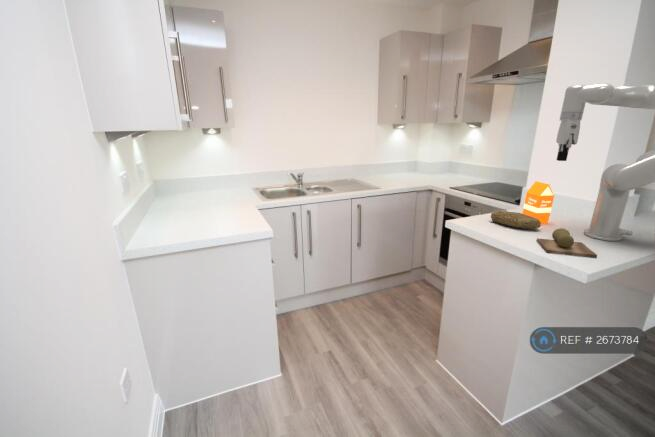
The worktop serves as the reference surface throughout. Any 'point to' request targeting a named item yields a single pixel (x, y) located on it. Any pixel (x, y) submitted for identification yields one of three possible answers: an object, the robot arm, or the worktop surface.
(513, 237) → the worktop surface
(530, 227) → the sponge
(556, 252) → the walnut board
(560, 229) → the cork
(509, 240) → the worktop surface
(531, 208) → the orange juice
